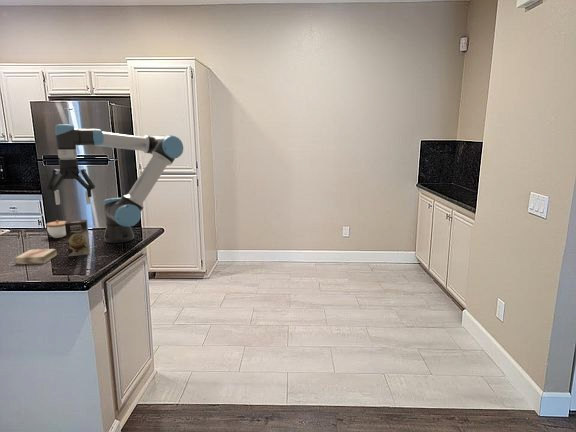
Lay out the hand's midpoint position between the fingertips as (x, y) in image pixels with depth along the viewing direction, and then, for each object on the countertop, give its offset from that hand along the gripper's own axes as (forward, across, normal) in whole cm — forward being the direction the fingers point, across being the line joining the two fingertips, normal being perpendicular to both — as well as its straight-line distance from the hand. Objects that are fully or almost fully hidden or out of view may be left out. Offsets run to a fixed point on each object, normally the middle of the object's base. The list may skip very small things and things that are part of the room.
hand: (73, 204), depth 181 cm
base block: (+24, -16, -7) cm, 30 cm away
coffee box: (+25, 0, 0) cm, 25 cm away
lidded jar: (+25, -25, +34) cm, 49 cm away
